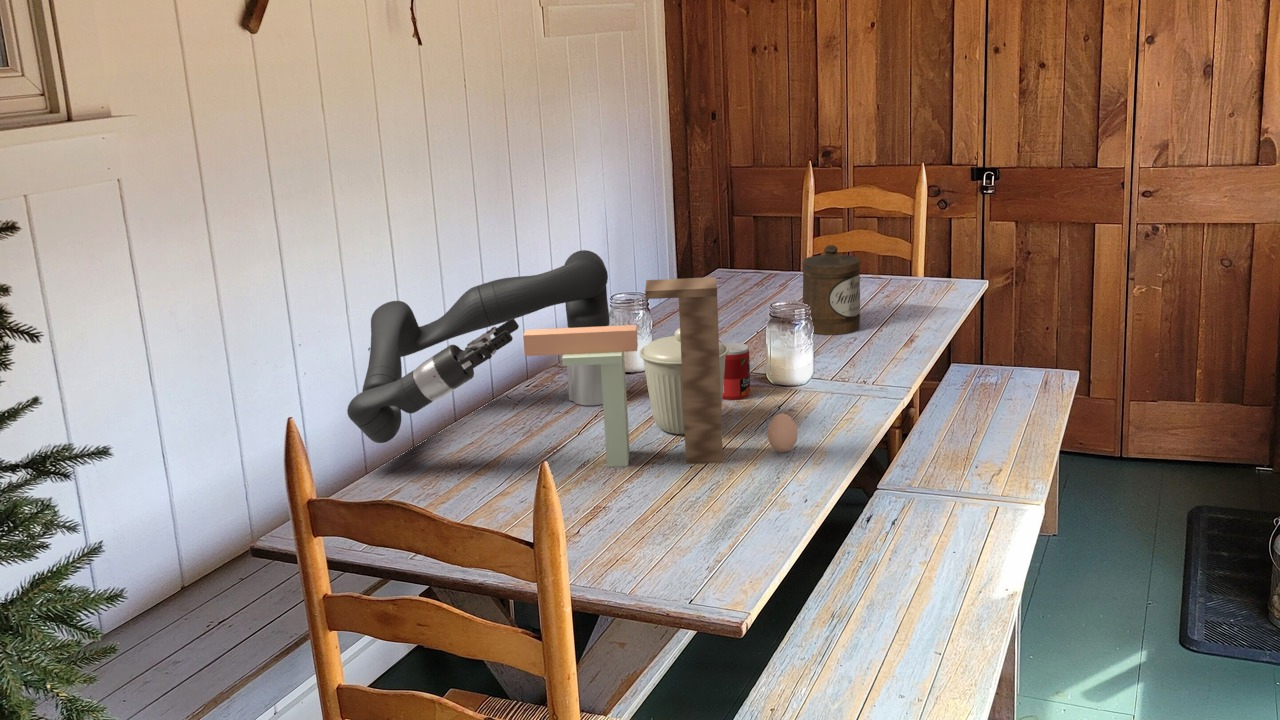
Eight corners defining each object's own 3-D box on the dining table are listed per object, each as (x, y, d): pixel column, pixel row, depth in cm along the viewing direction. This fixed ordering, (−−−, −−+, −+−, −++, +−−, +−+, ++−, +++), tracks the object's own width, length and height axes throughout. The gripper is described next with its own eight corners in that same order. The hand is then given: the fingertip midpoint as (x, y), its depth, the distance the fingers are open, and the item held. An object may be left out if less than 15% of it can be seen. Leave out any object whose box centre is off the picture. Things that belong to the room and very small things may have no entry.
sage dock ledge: (570, 469, 229) (562, 358, 222) (574, 452, 237) (566, 344, 231) (628, 467, 228) (621, 355, 222) (629, 450, 237) (623, 342, 230)
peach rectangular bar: (524, 356, 225) (523, 335, 224) (527, 350, 229) (525, 329, 228) (637, 351, 224) (636, 330, 223) (637, 345, 228) (636, 324, 227)
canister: (670, 448, 237) (665, 345, 231) (628, 423, 252) (622, 326, 246) (748, 429, 244) (745, 329, 238) (702, 406, 260) (698, 312, 254)
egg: (797, 457, 229) (796, 419, 226) (766, 456, 230) (766, 418, 227) (798, 446, 234) (798, 409, 232) (768, 445, 235) (768, 409, 233)
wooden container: (846, 337, 306) (846, 252, 300) (793, 332, 314) (792, 249, 308) (869, 323, 318) (869, 241, 312) (817, 318, 326) (816, 238, 320)
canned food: (748, 400, 262) (747, 352, 259) (712, 400, 264) (710, 352, 261) (752, 389, 269) (751, 342, 266) (716, 389, 271) (715, 342, 268)
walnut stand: (654, 466, 228) (645, 291, 218) (655, 449, 236) (646, 280, 227) (723, 463, 227) (717, 287, 218) (721, 446, 236) (715, 277, 226)
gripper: (424, 368, 221) (496, 322, 218) (439, 346, 234) (507, 303, 232) (447, 400, 223) (519, 355, 220) (461, 377, 236) (529, 334, 233)
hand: (513, 328), depth 226 cm, fingers open, 8 cm apart
